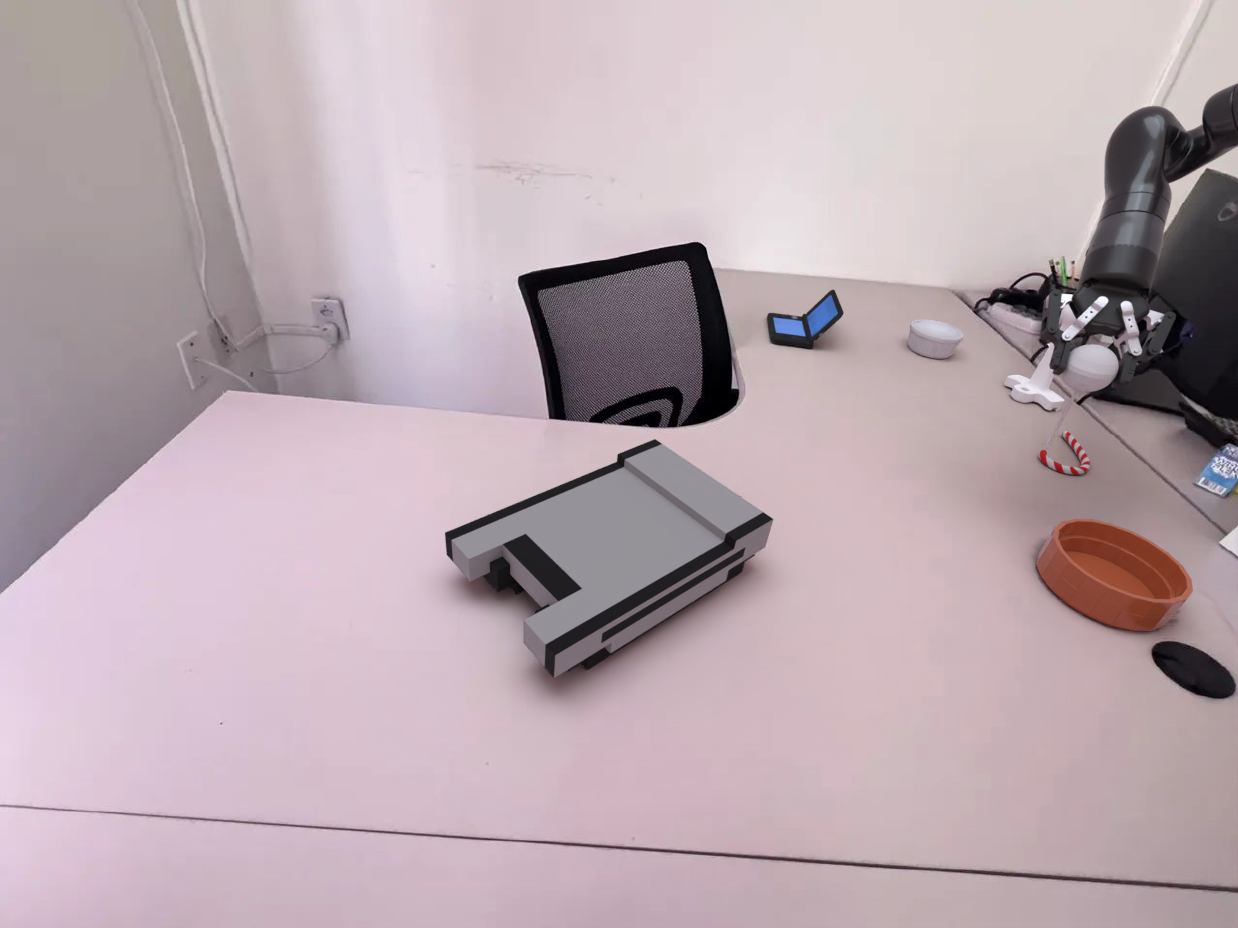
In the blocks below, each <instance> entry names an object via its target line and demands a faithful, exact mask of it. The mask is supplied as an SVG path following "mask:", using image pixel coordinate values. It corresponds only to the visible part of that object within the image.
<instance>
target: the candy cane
mask: <svg viewBox="0 0 1238 928" xmlns="http://www.w3.org/2000/svg"><path fill="white" fill-rule="evenodd" d="M1061 437H1062V438H1063V439H1064V441H1065V442H1067V444H1068V445H1069V446H1070V448H1071V449H1072V450H1073V452H1074V453H1075V455H1076V456H1077V458H1078V460H1079V462H1080V465H1079V466H1070V465H1065V464H1062V463H1059V462H1057V461H1055V460H1053V459H1052V458H1050V457H1049V456H1048V452H1047V450H1045V449H1041V450H1039V452H1038V458H1039V460H1040V461H1041V463H1043V465H1045V466H1047V467H1048V468H1050V469H1052V470H1053V471H1055V472H1059V473H1062V474H1064V475H1065V474H1066V475H1071V476H1072V475H1073V476H1078V475H1082V474H1085V473H1087V472H1088V471H1089V469H1090V467H1091V460H1090V457H1089V456H1088V454H1087V453H1086V451H1085V450H1084V448H1083V447H1082V445H1081V444H1080V442H1079V441H1078V440H1077V439H1076V438H1075V437H1074V435H1073V434H1071V432H1069V431H1068V430H1063V431H1062V432H1061Z"/></svg>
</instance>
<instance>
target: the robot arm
mask: <svg viewBox="0 0 1238 928" xmlns="http://www.w3.org/2000/svg"><path fill="white" fill-rule="evenodd" d="M1202 108H1203V109H1202V113H1201V124H1200V125H1198V126H1197V127H1195V128H1191V129H1189V130H1186V128H1185V127H1184V126H1183V125H1182V123H1181V122H1180V121H1179V119H1178V118H1177V117H1176V115H1175V114H1174V113H1173V112H1172V111H1171V110H1169V109H1168V108H1166V107H1163V106H1159V105H1149V106H1145V107H1144V106H1143V107H1141V108H1138V109H1137V110H1135V111H1133V112H1131V113H1130V114H1128V115H1127V116H1125V118H1123V119H1122V120H1121V121H1120V122H1119V123H1118V124H1117V125H1116V127H1115V128H1114V130H1113V131H1112V132H1111V135H1110V137H1109V139H1108V142H1107V143H1106V148H1105V153H1104V166H1103V167H1104V169H1103V171H1104V172H1103V186H1104V187H1103V188H1104V201H1103V204H1102V207H1101V210H1100V214H1099V218H1098V221H1097V224H1096V228H1095V230H1094V232H1093V235H1092V237H1091V238H1090V242H1089V245H1088V248H1087V249H1086V251H1085V255H1084V257H1085V258H1084V263H1083V266H1082V269H1081V272H1080V276H1079V280H1078V283H1077V285H1076V286H1077V287H1076V290H1075V292H1073V294H1071V293H1062V290H1060V289H1058V288H1054V289H1052V290H1051V291H1050V293H1049V294H1048V295H1047V296H1046V298H1045V299H1044V300H1043V306H1042V307H1043V308H1042V315H1041V325H1040V334H1039V337H1040V339H1041V340H1043V341H1048V342H1051V343H1053V344H1054V350H1053V354H1052V357H1051V361H1050V364H1049V366H1050V369H1053V374H1055V375H1056V376H1061V373H1063V372H1064V370H1065V368H1066V365H1067V362H1068V358H1069V354H1070V352H1071V351H1072V348H1073V344H1074V343H1073V342H1071V341H1072V340H1073V338H1075V337H1076V336H1077V335H1078V334H1079V333H1080V332H1081V331H1082V330H1083V331H1084V332H1086V333H1095V334H1101V335H1103V336H1105V337H1109V338H1112V342H1113V345H1114V347H1115V348H1117V350H1118V354H1119V357H1120V359H1119V360H1118V364H1119V369H1118V373H1117V375H1116V377H1115V379H1114V380H1113V381H1112V382H1111V389H1115V390H1119V389H1121V388H1122V387H1125V386H1126V385H1128V384H1129V383H1130V382H1132V380H1134V376H1135V372H1136V369H1137V364H1138V362H1142V363H1147V362H1149V361H1151V360H1152V359H1153V358H1154V357H1156V356H1157V355H1159V354H1160V353H1161V351H1162V349H1163V347H1164V345H1165V342H1166V340H1167V338H1168V335H1169V334H1170V331H1171V330H1172V327H1173V325H1174V323H1175V321H1176V318H1177V314H1176V313H1175V312H1174V311H1167V312H1165V313H1162V312H1159V311H1157V310H1152V309H1151V306H1150V304H1149V298H1150V297H1149V296H1150V294H1151V291H1152V287H1153V282H1154V279H1155V275H1156V272H1157V267H1158V263H1159V259H1160V256H1161V252H1162V248H1163V244H1164V236H1165V235H1164V234H1165V227H1166V223H1167V221H1168V220H1167V219H1168V217H1169V213H1170V209H1171V204H1172V200H1173V199H1172V198H1173V192H1172V188H1171V185H1170V184H1172V183H1175V182H1177V181H1180V180H1181V179H1183V178H1185V177H1187V176H1189V175H1190V174H1192V173H1194V172H1196V171H1197V170H1199V169H1201V168H1202V167H1204V166H1206V165H1208V164H1210V163H1212V162H1214V161H1216V160H1217V159H1219V158H1220V157H1222V156H1224V155H1226V154H1228V153H1229V152H1231V151H1233V150H1235V149H1237V148H1238V82H1237V83H1234V84H1232V85H1229V86H1227V87H1225V88H1223V89H1221V90H1219V91H1217V92H1216V93H1214V94H1212V95H1211V96H1210V97H1209V98H1208V99H1207V101H1206V102H1205V103H1204V105H1203V107H1202ZM1067 304H1069V307H1070V308H1071V310H1072V312H1073V314H1074V316H1075V318H1076V321H1075V322H1074V323H1073V324H1072V325H1071V326H1070V327H1069V328H1068V329H1067V330H1066V331H1065V332H1064V331H1062V330H1060V327H1059V326H1060V325H1059V324H1060V318H1061V312H1062V310H1063V308H1064V307H1065V306H1066V305H1067ZM1142 320H1144V321H1145V322H1146V330H1147V331H1149V333H1148V335H1147V337H1146V339H1145V341H1144V344H1143V345H1141V341H1140V339H1139V337H1140V330H1139V326H1138V323H1139V322H1141V321H1142ZM1055 375H1054V376H1055Z"/></svg>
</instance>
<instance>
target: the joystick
mask: <svg viewBox="0 0 1238 928" xmlns="http://www.w3.org/2000/svg"><path fill="white" fill-rule="evenodd" d="M1060 319H1061V324H1060V325H1061V326H1060V327H1059V329H1060V330H1062V331H1064V332H1065V331H1066V330H1067V329H1068V328H1069V327H1070V326H1071V325H1072V324H1073V323H1074V322H1075V321H1076V318H1075V316H1074V314H1073V312H1072V310H1071V308H1070V307H1069V304H1067V305H1066V306H1065V307H1064V308H1063V309H1062V310H1061V311H1060ZM1053 350H1054V344H1053V343H1052V342H1051V343H1050V344H1049V346H1048V348H1047V350H1046V351H1045V353H1044V354H1043V356H1042V358H1041V360H1040V362H1039V364H1038V365H1037V367H1036V369H1035V370H1034V372H1033V373H1032V375H1031V377H1030V378H1029V377H1026V376H1024V375H1021V374H1011V375H1007V376H1006V379H1005V381H1004V383H1003V385H1004V386H1006V387H1008V388H1011V389H1012V390H1011V392H1010V394H1009V395H1010V396H1011V399H1013V400H1014V401H1016V402H1017V403H1023V404H1027V403H1032V402H1033V403H1037V404H1039V405H1040V406H1041V407H1042V408H1044V409H1045V410H1047V411H1052V410H1053V411H1054V412H1059V411H1060V410H1061V408H1062V406H1063V405H1064V402H1065V399H1064V398H1063V397H1061V395H1059V394H1057V393H1056V392H1055V391H1053V390H1052V389H1050V386H1051V384H1052V382H1053V379H1054V377H1055V374H1053V369H1050V366H1049V364H1050V361H1051V357H1052V354H1053Z"/></svg>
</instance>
